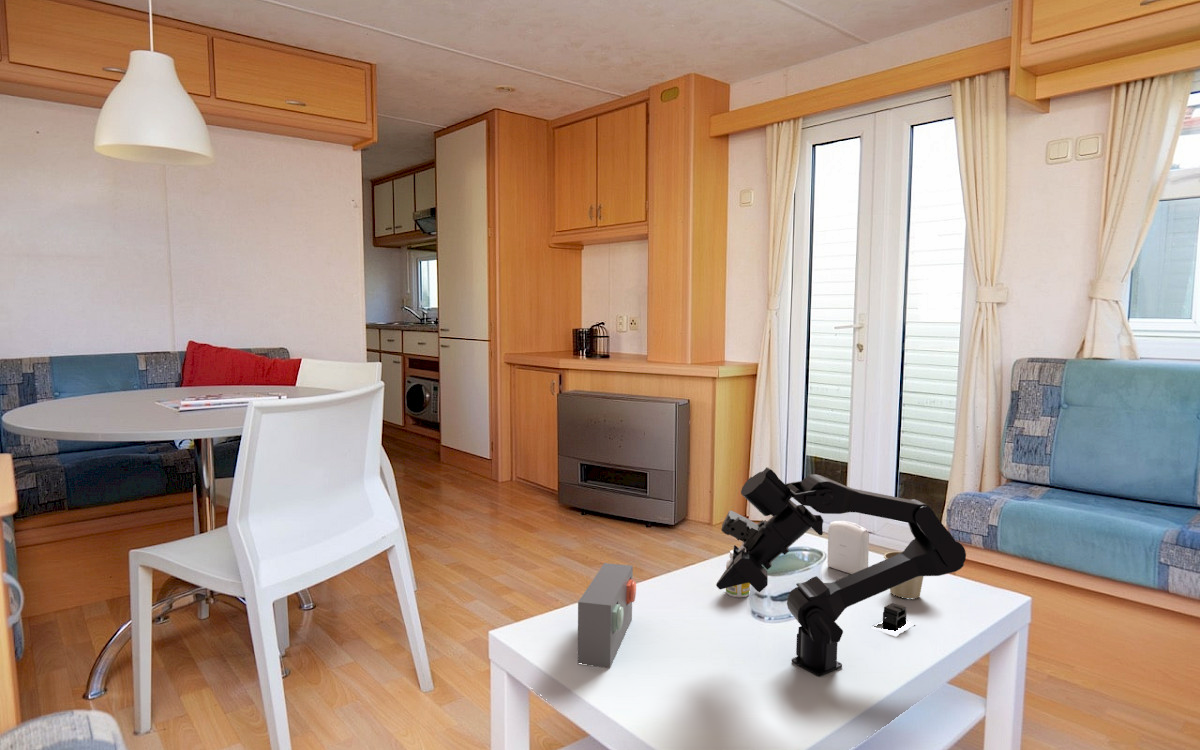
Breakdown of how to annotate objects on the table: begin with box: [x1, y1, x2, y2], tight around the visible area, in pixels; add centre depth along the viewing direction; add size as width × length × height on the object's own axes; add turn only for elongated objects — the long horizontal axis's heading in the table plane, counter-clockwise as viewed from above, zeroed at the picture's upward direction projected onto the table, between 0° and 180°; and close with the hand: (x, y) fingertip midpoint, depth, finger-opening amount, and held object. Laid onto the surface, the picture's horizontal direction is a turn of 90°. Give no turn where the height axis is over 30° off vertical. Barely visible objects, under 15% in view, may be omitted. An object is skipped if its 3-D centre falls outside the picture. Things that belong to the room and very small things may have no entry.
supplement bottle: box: [725, 549, 751, 598], centre depth 159 cm, size 5×5×10 cm
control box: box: [577, 562, 634, 669], centre depth 135 cm, size 6×21×12 cm, turn 167°
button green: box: [613, 604, 624, 632], centre depth 128 cm, size 5×4×4 cm
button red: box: [626, 579, 637, 604], centre depth 141 cm, size 5×4×4 cm
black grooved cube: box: [873, 602, 907, 631], centre depth 143 cm, size 12×7×5 cm, turn 130°
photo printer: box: [827, 520, 870, 575], centre depth 175 cm, size 10×4×12 cm, turn 37°
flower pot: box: [883, 551, 924, 599], centre depth 160 cm, size 9×9×9 cm
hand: (717, 586), depth 128 cm, fingers closed
